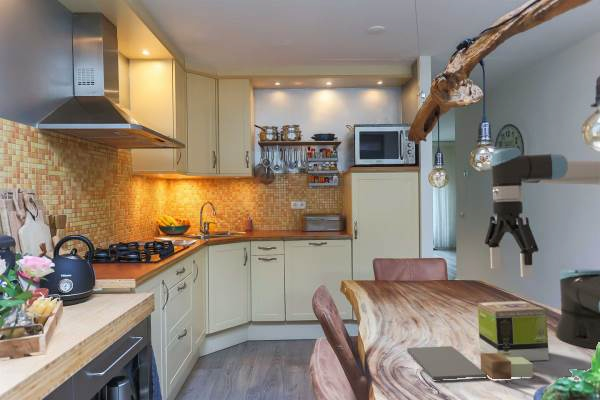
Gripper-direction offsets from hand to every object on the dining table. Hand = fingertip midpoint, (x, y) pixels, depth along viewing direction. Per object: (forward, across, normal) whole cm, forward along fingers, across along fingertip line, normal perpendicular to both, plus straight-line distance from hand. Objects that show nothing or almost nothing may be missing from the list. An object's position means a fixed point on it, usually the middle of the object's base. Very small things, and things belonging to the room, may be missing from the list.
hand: (510, 272), depth 103 cm
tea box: (+25, 0, 0) cm, 25 cm away
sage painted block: (+25, +12, -7) cm, 28 cm away
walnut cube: (+24, +12, -13) cm, 30 cm away
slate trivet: (+24, +4, -23) cm, 34 cm away
